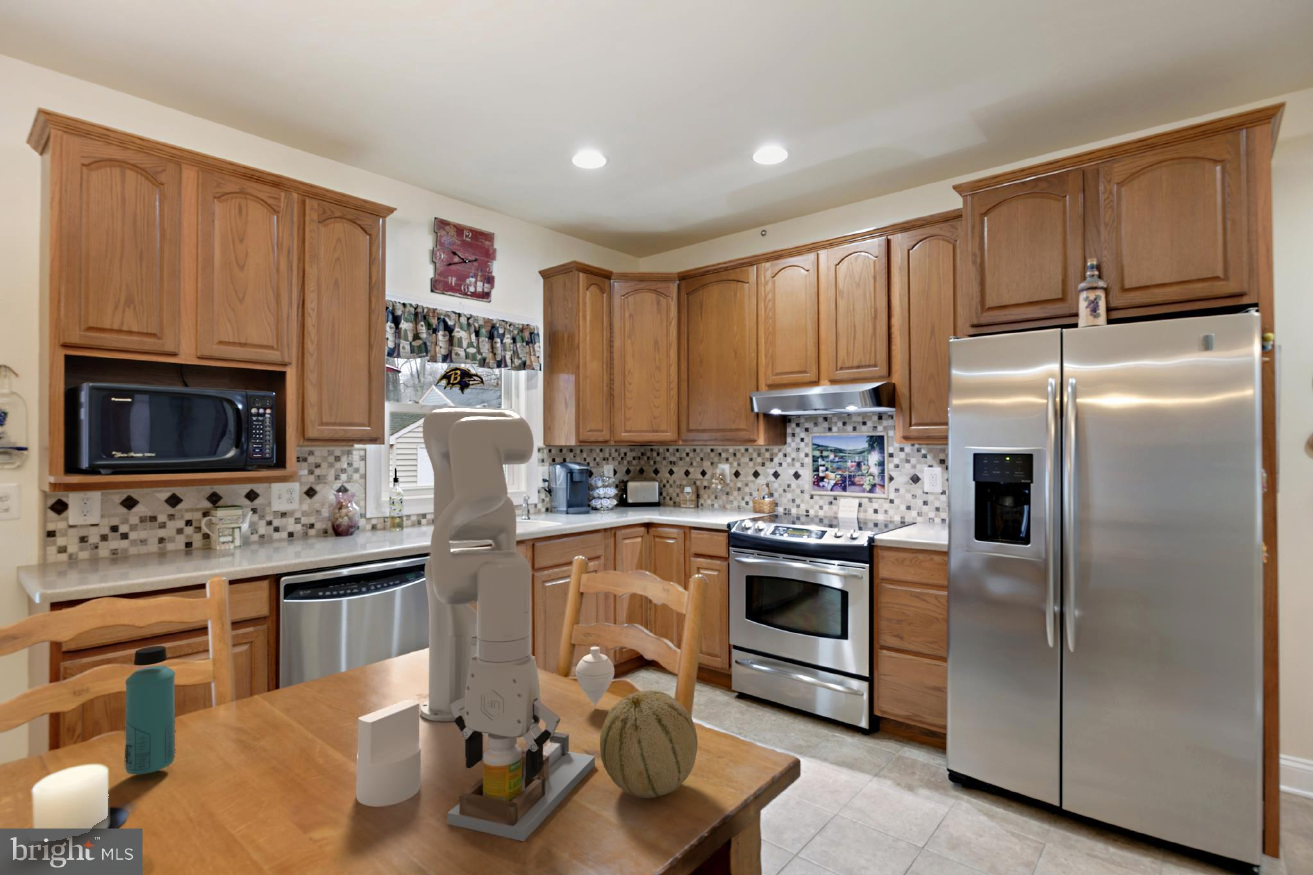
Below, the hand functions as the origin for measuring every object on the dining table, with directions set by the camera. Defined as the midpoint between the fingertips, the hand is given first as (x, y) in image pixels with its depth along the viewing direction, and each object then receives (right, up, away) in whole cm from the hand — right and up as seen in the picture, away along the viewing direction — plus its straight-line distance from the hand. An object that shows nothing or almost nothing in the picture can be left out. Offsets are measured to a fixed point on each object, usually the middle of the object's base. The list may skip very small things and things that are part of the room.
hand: (503, 769), depth 92 cm
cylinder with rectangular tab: (-19, -7, +7) cm, 21 cm away
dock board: (+2, -6, +6) cm, 9 cm away
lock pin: (+4, -5, +11) cm, 13 cm away
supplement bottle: (0, -5, 0) cm, 5 cm away
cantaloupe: (+20, -7, +6) cm, 22 cm away
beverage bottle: (-59, -7, +11) cm, 60 cm away
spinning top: (+9, -7, +38) cm, 40 cm away
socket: (0, -5, 0) cm, 5 cm away
